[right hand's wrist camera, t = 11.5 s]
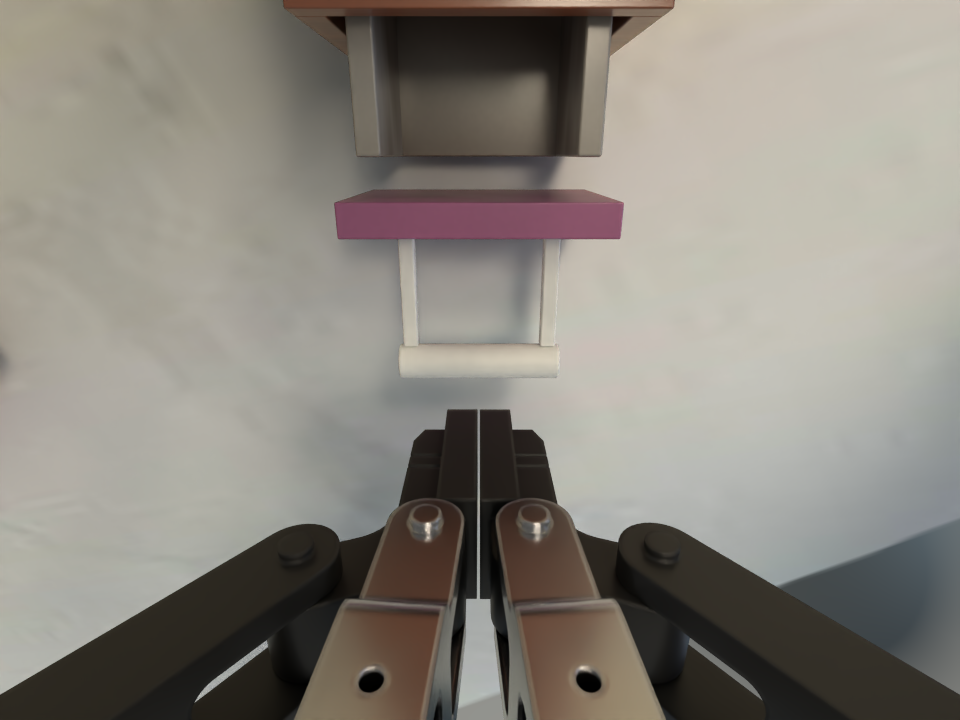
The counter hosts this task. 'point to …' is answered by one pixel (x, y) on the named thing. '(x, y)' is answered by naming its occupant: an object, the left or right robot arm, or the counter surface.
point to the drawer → (479, 153)
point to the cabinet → (478, 13)
